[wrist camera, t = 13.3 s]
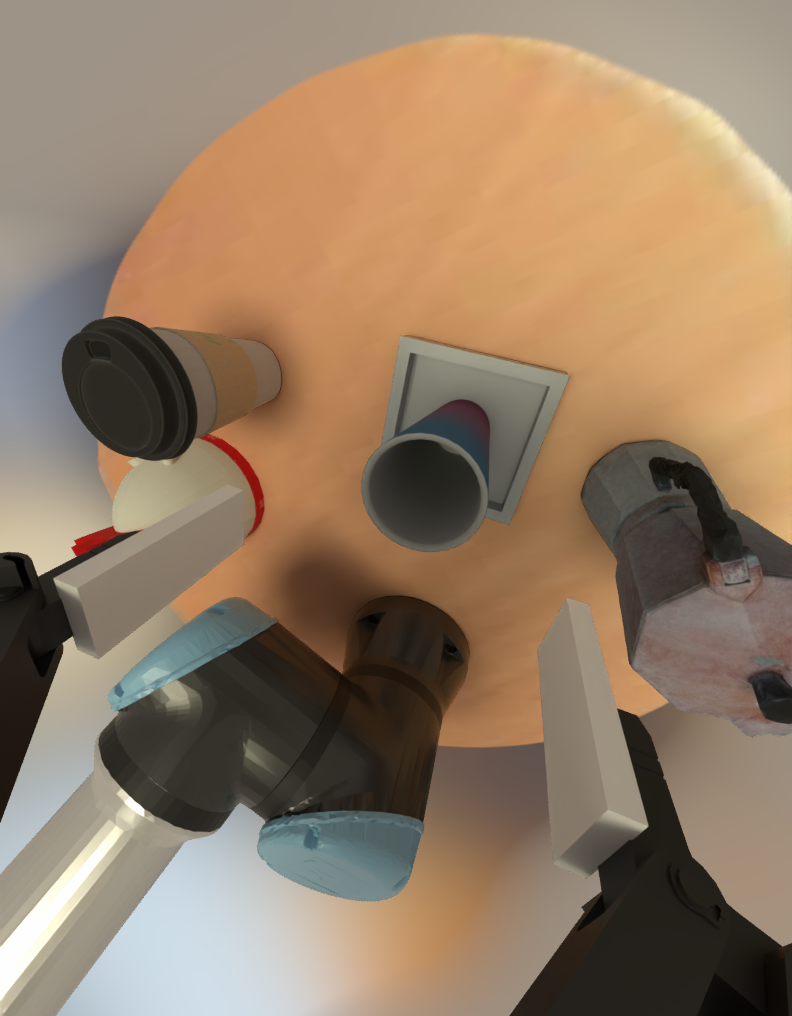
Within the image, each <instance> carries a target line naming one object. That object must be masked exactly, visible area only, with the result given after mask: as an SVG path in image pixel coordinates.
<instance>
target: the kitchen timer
mask: <svg viewBox="0 0 792 1016" xmlns="http://www.w3.org/2000/svg"><path fill="white" fill-rule="evenodd" d="M128 463H129V464H130V465H131V466H132V467H134V468H133V469H132V470H131V471H130V472H129V473H128V474H127V475H126V477H125V478H124V480H123V481H122V483H121V485H120V487H119V489H118V491H117V494H116V496H115V499H114V502H113V507H112V522H113V526H112V527H109V528H106V529H103V530H100V531H98V532H95V533H92V534H89V535H87V536H84V537H81V538H79V539H77V540H74V541H75V543H76V545H75V546H73V547H72V550H73V551H74V553H75V555H76V556H79V555H81V554H83V553H85V552H87V553H88V552H89V550H91V549H93V548H95V547H97V546H101V545H102V543H104V542H106V541H108V540H110V539H112V538H114V537H116V536H118V535H122V534H125V533H129V532H132V531H136V530H137V531H139V532H140V531H142V530H144V529H146V528H148V527H150V526H152V525H153V524H155V523H157V522H159V521H161V520H163V519H165V518H166V517H168V516H170V515H172V514H174V513H176V512H178V511H179V510H181V509H183V508H185V507H187V506H189V505H191V504H192V503H194V502H196V501H198V500H200V499H202V498H204V497H205V496H207V495H209V494H211V493H213V492H215V491H217V490H218V489H220V488H222V487H224V486H226V485H230V486H233V487H236V488H239V489H242V490H243V499H244V538H246V537H247V536H248V535H250V534H251V533H252V532H254V530H255V529H256V528H257V526H258V525H259V524H260V522H261V519H262V515H263V512H264V500H263V493H262V490H261V486H260V483H259V480H258V478H257V476H256V475H255V473H254V471H253V469H252V468H251V466H250V464H249V463H248V462H247V461H246V460H245V458H244V457H243V456H242V455H241V454H240V453H239V452H238V451H237V450H236V449H235V448H233V447H232V446H231V445H229V444H228V443H226V442H225V441H224V440H222V439H219V438H217V437H214V436H212V435H209V434H207V435H205V436H203V437H201V438H196V439H194V440H193V442H192V444H191V445H190V447H189V448H188V449H187V451H185V452H184V453H183V454H182V455H180V456H178V457H176V458H173V459H168V460H161V461H149V460H144V459H140V458H138V457H135V458H133V459H131V460H130V461H128Z"/></svg>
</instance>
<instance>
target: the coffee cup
mask: <svg viewBox="0 0 792 1016" xmlns="http://www.w3.org/2000/svg"><path fill="white" fill-rule="evenodd" d="M62 374H63V380H64V385H65V388H66V391H67V394H68V397H69V399H70V402H71V404H72V406H73V407H74V409H75V411H76V413H77V415H78V416H79V418H80V419H81V421H82V422H83V423H84V425H85V426H86V427H87V429H88V430H89V431H90V432H91V433H92V434H93V435H94V436H95V437H96V438H97V439H98V440H99V441H100V442H101V443H103V444H104V445H105V446H107V447H108V448H110V449H111V450H113V451H115V452H117V453H119V454H122V455H125V456H129V457H138V458H140V459H144V460H149V461H161V460H168V459H173V458H176V457H178V456H180V455H182V454H183V453H184V452H185V451H187V449H188V448H189V447H190V445H191V444H192V442H193V440H194V439H196V438H201V437H203V436H205V435H207V434H209V433H211V432H213V431H215V430H217V429H219V428H221V427H223V426H225V425H227V424H229V423H231V422H233V421H235V420H237V419H239V418H241V417H243V416H245V415H247V414H248V413H249V412H250V411H251V410H253V409H255V408H257V407H259V406H261V405H263V404H265V403H267V402H269V401H271V400H273V399H274V398H275V397H276V396H277V394H278V393H279V391H280V387H281V370H280V366H279V363H278V360H277V358H276V356H275V355H274V353H273V352H272V351H271V350H270V349H269V348H268V347H267V346H266V345H264V344H262V343H260V342H257V341H251V340H244V339H235V338H228V337H225V336H222V335H217V334H210V333H202V332H194V331H185V330H177V329H169V328H161V327H155V328H148V327H146V326H145V325H143V324H141V323H139V322H137V321H135V320H132V319H129V318H126V317H108V318H105V319H99V320H95V321H93V322H91V323H89V324H88V325H86V327H84V328H83V329H82V331H81V332H80V333H78V334H76V335H75V336H73V337H72V338H71V339H70V340H69V341H68V343H67V345H66V347H65V349H64V352H63V357H62Z"/></svg>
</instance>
